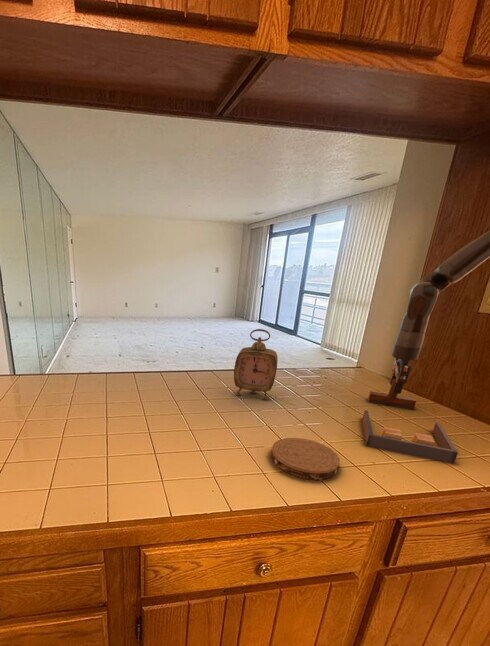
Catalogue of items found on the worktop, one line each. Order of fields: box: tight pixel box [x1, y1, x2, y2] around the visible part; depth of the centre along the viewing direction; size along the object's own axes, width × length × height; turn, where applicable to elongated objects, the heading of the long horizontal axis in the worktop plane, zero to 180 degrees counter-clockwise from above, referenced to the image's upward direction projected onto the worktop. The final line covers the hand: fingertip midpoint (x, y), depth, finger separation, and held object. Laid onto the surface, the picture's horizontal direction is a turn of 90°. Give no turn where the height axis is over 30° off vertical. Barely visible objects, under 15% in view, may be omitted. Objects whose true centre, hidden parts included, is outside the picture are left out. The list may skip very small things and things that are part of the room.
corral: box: [361, 410, 459, 464], centre depth 100 cm, size 19×20×4 cm
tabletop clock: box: [233, 328, 279, 401], centre depth 126 cm, size 14×9×25 cm, turn 70°
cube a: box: [381, 426, 403, 440], centre depth 97 cm, size 4×4×4 cm
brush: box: [367, 379, 417, 411], centre depth 123 cm, size 14×3×10 cm, turn 65°
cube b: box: [411, 432, 436, 446], centre depth 94 cm, size 4×4×4 cm
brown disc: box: [270, 437, 340, 483], centre depth 87 cm, size 16×16×3 cm
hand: (394, 389), depth 122 cm, fingers open, 8 cm apart
